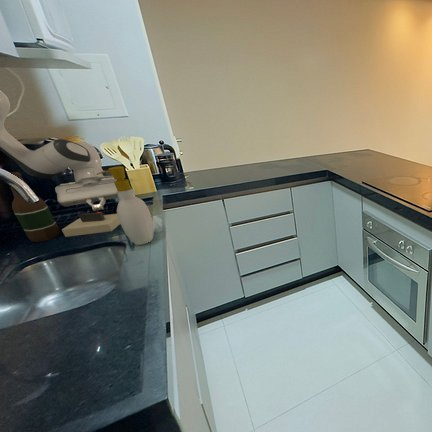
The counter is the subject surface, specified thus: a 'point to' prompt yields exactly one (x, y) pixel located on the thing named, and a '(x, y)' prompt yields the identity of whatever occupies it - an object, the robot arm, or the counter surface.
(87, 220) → the dark brown bar
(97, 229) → the beige flat block
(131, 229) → the soap bottle
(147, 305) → the counter surface
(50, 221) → the beer bottle
